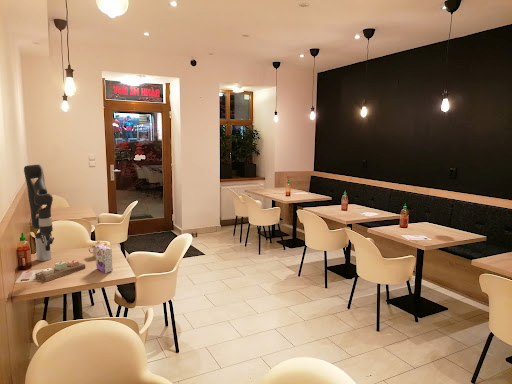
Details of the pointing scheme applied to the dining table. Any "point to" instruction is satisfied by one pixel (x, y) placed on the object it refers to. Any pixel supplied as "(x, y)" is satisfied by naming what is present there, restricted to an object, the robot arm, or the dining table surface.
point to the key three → (73, 263)
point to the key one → (47, 271)
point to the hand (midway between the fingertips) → (47, 250)
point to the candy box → (104, 258)
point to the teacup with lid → (94, 247)
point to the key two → (60, 266)
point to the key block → (59, 272)
